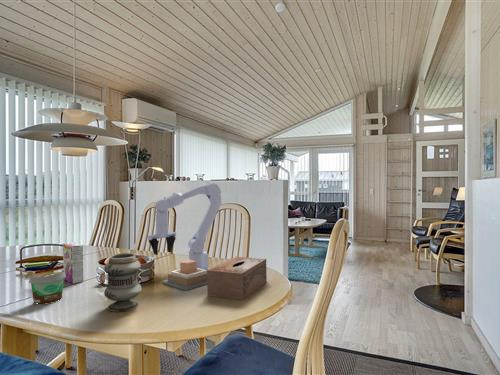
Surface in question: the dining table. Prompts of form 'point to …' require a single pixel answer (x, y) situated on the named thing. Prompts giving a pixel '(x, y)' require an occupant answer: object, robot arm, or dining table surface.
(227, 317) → the dining table surface
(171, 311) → the dining table surface
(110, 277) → the apothecary jar
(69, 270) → the candy bar box
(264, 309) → the dining table surface
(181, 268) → the terracotta cube
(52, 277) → the food container
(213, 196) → the robot arm
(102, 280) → the roller toy
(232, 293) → the tissue box cover
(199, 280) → the build base
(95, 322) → the dining table surface
